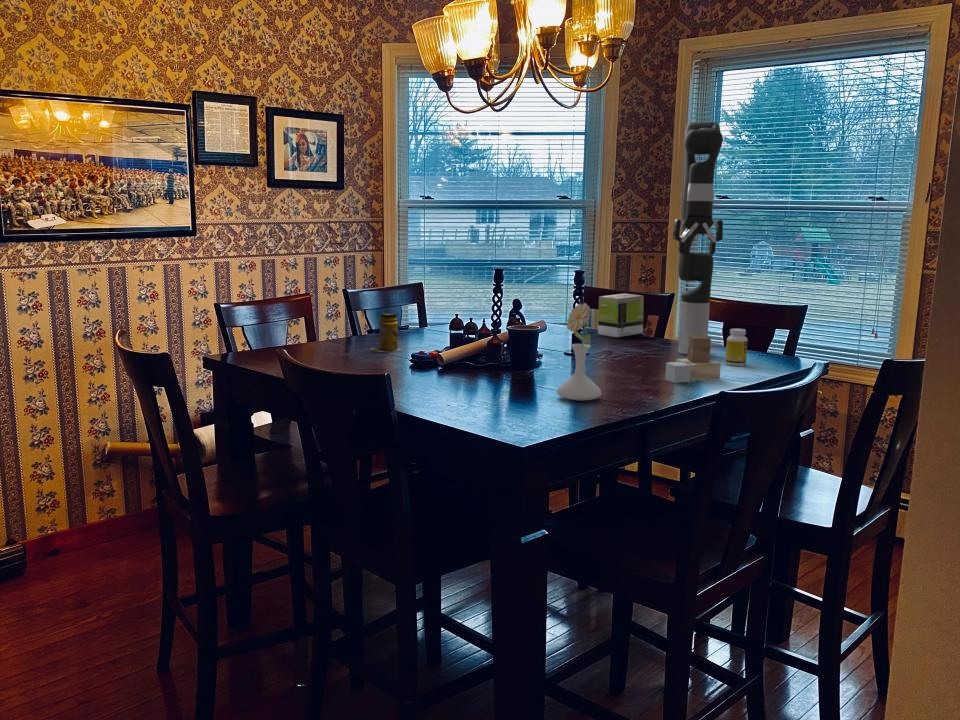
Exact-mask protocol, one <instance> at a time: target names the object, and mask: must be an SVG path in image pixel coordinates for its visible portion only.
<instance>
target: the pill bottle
mask: <svg viewBox="0 0 960 720" xmlns="http://www.w3.org/2000/svg"><path fill="white" fill-rule="evenodd" d="M746 333H747V331H746V329H745V328H731V329H729V334H730V335H729V336H728V337H727V338H726V347H725V360H724V361H725V364H726V365H727V366H734V367H743V366H746V364H747V354H748V353H747V351H748V341H749V340H748V337H746V336H745V335H746Z"/></svg>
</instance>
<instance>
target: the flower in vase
mask: <svg viewBox="0 0 960 720" xmlns="http://www.w3.org/2000/svg"><path fill="white" fill-rule="evenodd" d="M591 310H592V309H591V308H590V306H589V305H588V304H587V303H586V302H584V303H583V304H582V303H579V304H578V305H576V306H575V308H571V311H570V312H571V313H569V315H568V318H567V320H566V323H567V324H566V328H567V330H569V331H570V333H572V332H573V333H574V336H575V337H576V338H578V339H579V340H580V341H582V343H572V344H571V345H570V347H571V348H572V350H573V353H574V358H575V369H574V373H573V375H572V376H570V378H568V379H567V380H565V381H564V382H563V383H561V385H560V386H558V387H557V389H556V393H557V395H558V396H559V397H561V398H563V399H566V400H571V401H578V402H579V401H580V402H581V401H582V402H583V401H592V400H596V399H598V398H600V396H601V395H602V393H603V392H602V390H601V389H600V387H599V386H598V385H596V383H594V382H593V381H592V380H591V379H590V378H589V377H588V376H587V375H586V372H585V362H586V356H587V353H588V351H589V349H590V348H591V347H592V345H591V343H592V340H591V334H588V333H587V328H586V323H587V321H588V320H589V319H590V315H591V312H592V311H591ZM582 328H583V329H584V332H585V335H584V336H583V335H582V334H580V333H579V332H578V331H579V330H580V329H582Z"/></svg>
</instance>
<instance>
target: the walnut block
mask: <svg viewBox="0 0 960 720" xmlns="http://www.w3.org/2000/svg"><path fill="white" fill-rule="evenodd" d="M711 341H712V338H711V337H709V336H708V337H707V336H689V339H688V355H687V357H686V358H687V359H688V360H689V361H690V362H692V363H709V360H711V359H710V357H711Z"/></svg>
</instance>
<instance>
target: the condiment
mask: <svg viewBox="0 0 960 720" xmlns="http://www.w3.org/2000/svg"><path fill="white" fill-rule="evenodd" d="M397 317H398V315H397V313H394V312H384V313H381V314H380V322H379V347H371V348H370V347H369V349H370V350H373V351H375V352H378V353H384V352H397V351H403V349H402V348H399V327H398V326H399V323H398V320H397Z"/></svg>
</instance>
